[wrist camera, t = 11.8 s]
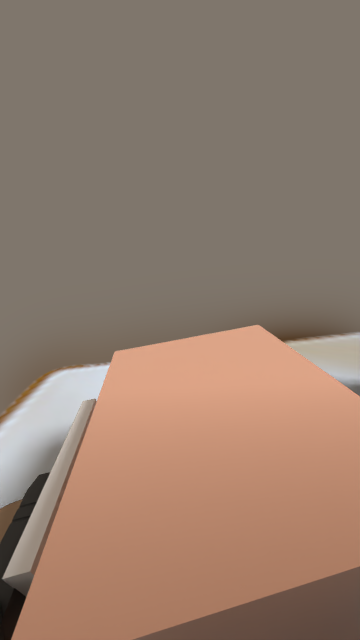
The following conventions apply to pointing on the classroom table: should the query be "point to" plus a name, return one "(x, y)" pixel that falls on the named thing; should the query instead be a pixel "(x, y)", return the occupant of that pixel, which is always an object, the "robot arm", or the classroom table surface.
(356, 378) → the classroom table surface
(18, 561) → the robot arm
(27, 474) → the classroom table surface
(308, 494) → the pink block
